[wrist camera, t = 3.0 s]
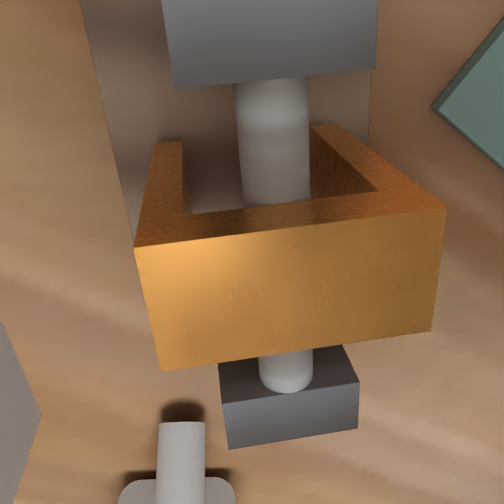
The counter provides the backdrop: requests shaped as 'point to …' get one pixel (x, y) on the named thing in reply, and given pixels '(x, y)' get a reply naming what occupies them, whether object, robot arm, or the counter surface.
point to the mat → (479, 98)
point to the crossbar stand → (241, 148)
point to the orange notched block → (288, 259)
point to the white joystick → (179, 471)
